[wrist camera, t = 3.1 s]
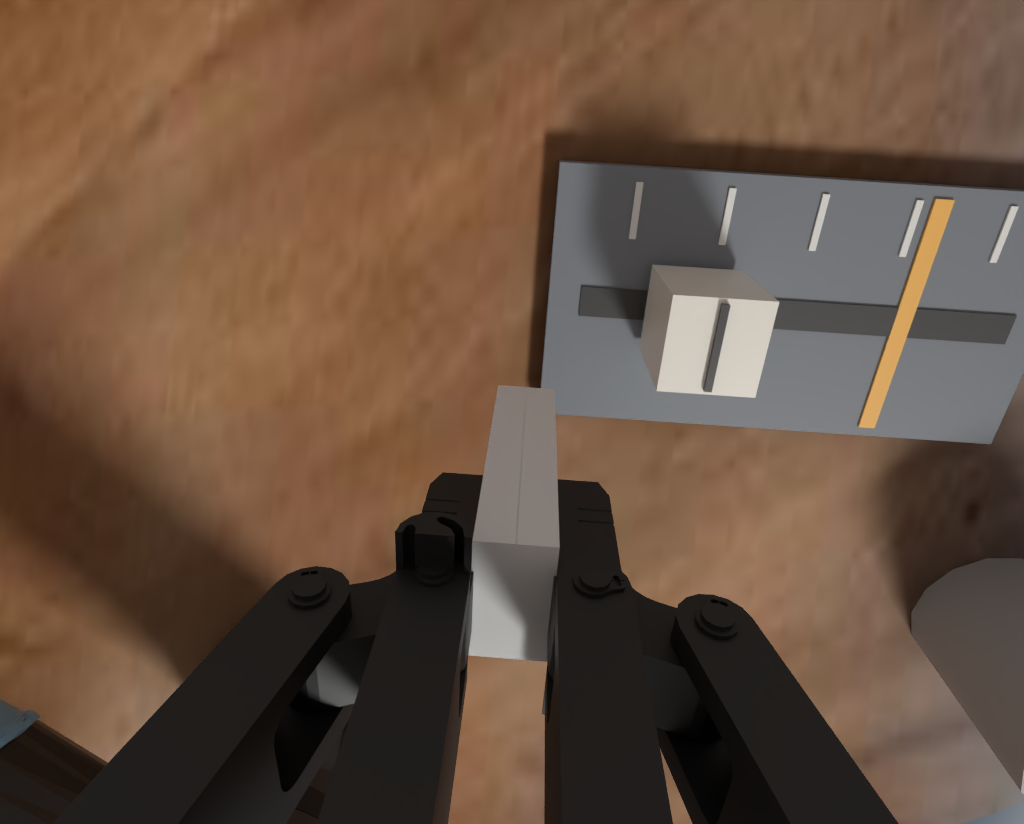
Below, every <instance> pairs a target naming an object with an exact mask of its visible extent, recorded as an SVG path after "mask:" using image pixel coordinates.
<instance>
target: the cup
mask: <svg viewBox="0 0 1024 824" xmlns="http://www.w3.org/2000/svg"><path fill="white" fill-rule="evenodd" d="M911 635H912V636H913V637H914V639H915V640H916V642H917V643H918V645H919V646H920V647H921V649H922V650H923V652H924V653H925V655H926V656H927V657H928V659H929V660H930V662H931V663H932V665H933V666H934V667H935V669H936V670H937V672H938V673H939V675H940V676H941V677H942V679H943V680H944V682H945V683H946V685H947V686H948V687H949V689H950V690H951V692H952V693H953V695H954V696H955V697H956V699H957V700H958V702H959V703H960V705H961V706H962V707H963V709H964V710H965V712H966V713H967V715H968V716H969V717H970V719H971V720H972V722H973V723H974V725H975V726H976V728H977V729H978V730H979V732H980V733H981V735H982V736H983V738H984V739H985V740H986V742H987V743H988V745H989V746H990V748H991V749H992V750H993V752H994V753H995V755H996V756H997V758H998V759H999V760H1000V762H1001V763H1002V765H1003V766H1004V768H1005V769H1006V770H1007V772H1008V773H1009V775H1010V776H1011V778H1012V779H1013V780H1014V782H1015V783H1016V785H1017V786H1018V788H1019V789H1020V790H1021V792H1022V793H1023V794H1024V559H1021V558H986V559H983V560H980V561H977V562H974V563H971V564H968V565H965V566H962V567H959V568H956V569H953V570H951V571H950V572H948V573H947V574H946V575H944V576H943V577H942V578H940V579H939V580H937V581H936V582H935V583H933V584H932V585H930V586H929V587H928V588H926V589H925V591H924V593H923V594H922V596H921V597H920V599H919V601H918V602H917V604H916V605H915V607H914V609H913V610H912V612H911Z"/></svg>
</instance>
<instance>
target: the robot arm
mask: <svg viewBox="0 0 1024 824" xmlns="http://www.w3.org/2000/svg"><path fill="white" fill-rule="evenodd" d="M613 524H614V522H613V516H612V510H611V504H610V497H609V495H608V494H607V493H606V491H605V490H604V489H603V488H602V487H601V485H600V484H599V483H598V482H586V481H573V480H559V479H557V447H556V416H555V389H544V388H530V387H516V386H502V385H498V390H497V396H496V402H495V408H494V414H493V420H492V426H491V432H490V438H489V444H488V450H487V456H486V462H485V468H484V474H483V475H470V474H457V473H442V474H441V475H440V476H439V477H437V478H436V479H435V480H434V481H433V482H432V483H431V484H430V486H429V490H428V493H427V496H426V501H425V503H424V506H423V510H422V513H421V514H419V515H415V516H412V517H410V518H408V519H407V520H405V521H404V522H402V523H401V524H400V525H399V527H398V528H397V530H396V531H395V543H396V571H395V572H394V573H392V574H391V575H389V576H386V577H384V578H382V579H378V580H374V581H370V582H364V583H358V584H352V585H349V581H348V580H347V578H346V577H345V576H344V575H343V574H342V573H341V572H339V571H336V570H334V569H332V568H326V567H317V566H316V567H310V568H303V569H299V570H297V571H295V572H292V573H290V574H287V575H286V576H285V577H283V578H282V579H281V580H279V581H278V582H277V583H275V585H274V586H273V587H272V588H271V589H270V590H269V591H268V592H267V593H266V594H265V595H264V596H263V597H262V599H261V600H260V601H259V602H258V603H257V604H256V605H255V606H254V607H253V608H252V609H251V610H250V611H249V612H248V614H247V615H246V616H245V617H244V618H243V619H242V620H241V621H240V622H239V623H238V624H237V625H236V626H235V628H234V629H233V630H232V631H231V632H230V633H229V634H228V635H227V636H226V637H225V638H224V639H223V640H222V641H221V643H220V644H219V645H218V646H217V647H216V648H215V649H214V650H213V651H212V652H211V653H210V654H209V655H208V656H207V658H206V659H205V660H204V661H203V662H202V663H201V664H200V665H199V666H198V667H197V668H196V669H195V670H194V672H193V673H192V674H191V675H190V676H189V677H188V678H187V679H186V680H185V681H184V682H183V683H182V684H181V685H180V687H179V688H178V689H177V690H176V691H175V692H174V693H173V694H172V695H171V696H170V697H169V698H168V699H167V701H166V702H165V703H164V704H163V705H162V706H161V707H160V708H159V709H158V710H157V711H156V712H155V713H154V714H153V716H152V717H151V718H150V719H149V720H148V721H147V722H146V723H145V724H144V725H143V726H142V727H141V728H140V729H139V731H138V732H137V733H136V734H135V735H134V736H133V737H132V738H131V739H130V740H129V741H128V742H127V743H126V745H125V746H124V747H123V748H122V749H121V750H120V751H119V752H118V753H117V754H116V755H115V756H114V757H113V758H112V760H111V761H110V762H109V763H107V762H106V761H104V760H102V759H101V758H99V757H98V756H96V755H94V754H93V753H91V752H89V751H88V750H86V749H85V748H83V747H81V746H80V745H78V744H76V743H75V742H73V741H72V740H70V739H68V738H67V737H65V736H64V735H62V734H60V733H59V732H57V731H55V730H54V729H52V728H51V727H49V726H47V725H46V724H44V723H42V722H41V721H39V720H38V719H39V717H40V715H39V714H37V713H36V712H34V711H33V710H25V711H22V710H20V709H19V708H17V707H15V706H13V705H11V704H9V703H7V702H5V701H4V700H2V699H0V824H448V818H449V811H450V803H451V796H452V788H453V781H454V773H455V766H456V758H457V750H458V743H459V735H460V728H461V720H462V713H463V705H464V697H465V690H466V682H467V661H468V655H470V656H483V657H495V658H508V659H521V660H533V661H546V662H547V673H546V682H545V691H544V700H543V708H542V714H545V824H673V822H672V816H671V810H670V804H669V798H668V793H667V787H666V781H665V775H664V770H663V764H662V758H661V752H660V749H661V751H662V753H663V756H664V758H665V760H666V763H667V765H668V767H669V769H670V772H671V774H672V776H673V779H674V781H675V783H676V786H677V788H678V790H679V793H680V795H681V797H682V800H683V802H684V804H685V807H686V809H687V811H688V814H689V816H690V818H691V821H692V823H693V824H898V822H897V821H896V820H895V818H894V817H893V815H892V814H891V813H890V811H889V810H888V808H887V807H886V805H885V804H884V803H883V801H882V800H881V798H880V797H879V796H878V794H877V793H876V791H875V790H874V789H873V787H872V786H871V784H870V783H869V782H868V780H867V779H866V777H865V776H864V775H863V773H862V772H861V770H860V769H859V767H858V766H857V765H856V763H855V762H854V760H853V759H852V758H851V756H850V755H849V753H848V752H847V751H846V749H845V748H844V746H843V745H842V744H841V742H840V741H839V739H838V738H837V737H836V735H835V734H834V732H833V731H832V729H831V728H830V727H829V725H828V724H827V722H826V721H825V720H824V718H823V717H822V715H821V714H820V713H819V711H818V710H817V708H816V707H815V706H814V704H813V703H812V701H811V700H810V699H809V697H808V696H807V694H806V693H805V691H804V690H803V689H802V687H801V686H800V684H799V683H798V682H797V680H796V679H795V677H794V676H793V675H792V673H791V672H790V670H789V669H788V668H787V666H786V665H785V663H784V662H783V661H782V659H781V658H780V656H779V655H778V653H777V652H776V651H775V649H774V648H773V646H772V645H771V644H770V642H769V641H768V639H767V638H766V637H765V635H764V634H763V632H762V631H761V630H760V628H759V627H758V625H757V624H756V623H755V621H754V620H753V618H752V617H751V616H750V615H749V614H748V613H747V612H746V611H745V610H744V609H743V608H742V607H740V606H738V605H737V604H735V603H733V602H732V601H730V600H728V599H725V598H722V597H718V596H715V595H706V594H697V595H694V596H690V597H686V598H685V599H684V600H683V601H682V602H681V603H680V604H678V608H675V607H671V606H668V605H665V604H662V603H659V602H656V601H654V600H651V599H649V598H646V597H645V596H643V595H641V594H640V593H638V592H637V591H635V590H634V589H633V588H632V586H631V584H630V582H629V580H628V577H627V576H626V575H625V574H624V573H623V572H622V571H621V566H620V559H619V553H618V547H617V541H616V535H615V528H614V526H613ZM659 746H660V747H659Z"/></svg>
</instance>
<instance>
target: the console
mask: <svg viewBox="0 0 1024 824" xmlns="http://www.w3.org/2000/svg"><path fill="white" fill-rule="evenodd" d="M652 264H653V265H668V266H683V267H698V268H713V269H728V270H742V271H743V272H744V273H745V274H746V275H748V276H749V277H750V278H751V279H752V280H754V281H755V282H756V283H757V284H759V285H760V286H761V287H762V288H763V289H765V290H766V291H767V292H768V293H769V294H771V295H772V296H773V297H774V298H775V299H777V300H778V301H779V306H778V310H777V314H776V318H775V322H774V325H773V329H772V333H771V337H770V341H769V345H768V349H767V353H766V357H765V361H764V365H763V369H762V373H761V377H760V381H759V385H758V389H757V393H756V397H755V398H749V397H735V396H720V395H705V394H691V393H676V392H662V391H656V389H655V386H654V384H653V381H652V379H651V376H650V374H649V371H648V369H647V366H646V364H645V361H644V359H643V356H642V354H641V351H640V349H639V347H640V340H641V334H642V327H643V321H644V314H645V308H646V302H647V295H648V289H649V282H650V276H651V269H652ZM1023 373H1024V189H1008V188H992V187H977V186H961V185H946V184H930V183H914V182H899V181H883V180H868V179H852V178H837V177H821V176H805V175H790V174H774V173H759V172H743V171H727V170H712V169H696V168H681V167H665V166H649V165H634V164H618V163H603V162H587V161H571V160H559V170H558V182H557V194H556V206H555V218H554V230H553V241H552V253H551V265H550V277H549V289H548V301H547V313H546V325H545V337H544V349H543V361H542V373H541V385H540V388H544V389H555V414H562V415H576V416H590V417H605V418H619V419H634V420H648V421H663V422H677V423H691V424H706V425H720V426H735V427H749V428H764V429H778V430H792V431H807V432H821V433H836V434H850V435H864V436H879V437H893V438H908V439H922V440H937V441H951V442H965V443H980V444H991V443H992V441H993V439H994V437H995V435H996V432H997V430H998V428H999V426H1000V424H1001V421H1002V419H1003V417H1004V415H1005V412H1006V410H1007V408H1008V406H1009V404H1010V401H1011V399H1012V397H1013V395H1014V393H1015V390H1016V388H1017V386H1018V384H1019V381H1020V379H1021V377H1022V375H1023Z"/></svg>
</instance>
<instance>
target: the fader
mask: <svg viewBox="0 0 1024 824" xmlns="http://www.w3.org/2000/svg"><path fill="white" fill-rule="evenodd" d="M778 306H779V301H778V300H777V299H775V298H774V297H773V296H772V295H771V294H769V293H768V292H767V291H766V290H765V289H763V288H762V287H761V286H760V285H759V284H757V283H756V282H755V281H754V280H752V279H751V278H750V277H749V276H748V275H746V274H745V273H744V272H743V271H742V270H728V269H713V268H698V267H683V266H668V265H653V264H652V269H651V276H650V282H649V289H648V295H647V302H646V308H645V314H644V321H643V327H642V334H641V340H640V347H639V349H640V351H641V354H642V356H643V359H644V361H645V364H646V366H647V369H648V371H649V374H650V376H651V379H652V381H653V384H654V386H655V389H656V391H662V392H676V393H691V394H705V395H720V396H735V397H749V398H755V397H756V393H757V389H758V385H759V381H760V377H761V373H762V369H763V365H764V361H765V357H766V353H767V349H768V345H769V341H770V337H771V333H772V329H773V325H774V322H775V318H776V314H777V310H778Z"/></svg>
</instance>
